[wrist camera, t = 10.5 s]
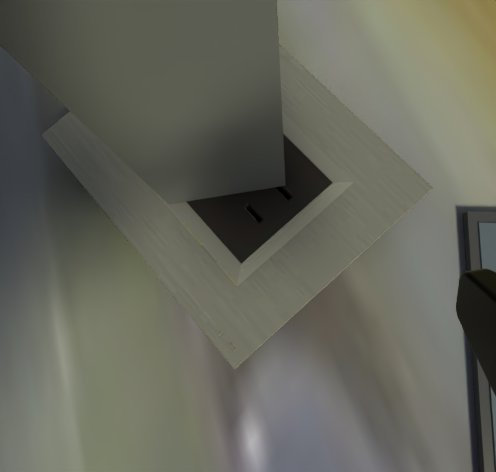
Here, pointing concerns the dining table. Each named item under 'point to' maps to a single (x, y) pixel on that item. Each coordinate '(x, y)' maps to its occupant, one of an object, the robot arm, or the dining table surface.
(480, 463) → the plate
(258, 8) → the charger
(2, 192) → the dining table surface
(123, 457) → the dining table surface
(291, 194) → the electrical outlet
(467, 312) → the robot arm
